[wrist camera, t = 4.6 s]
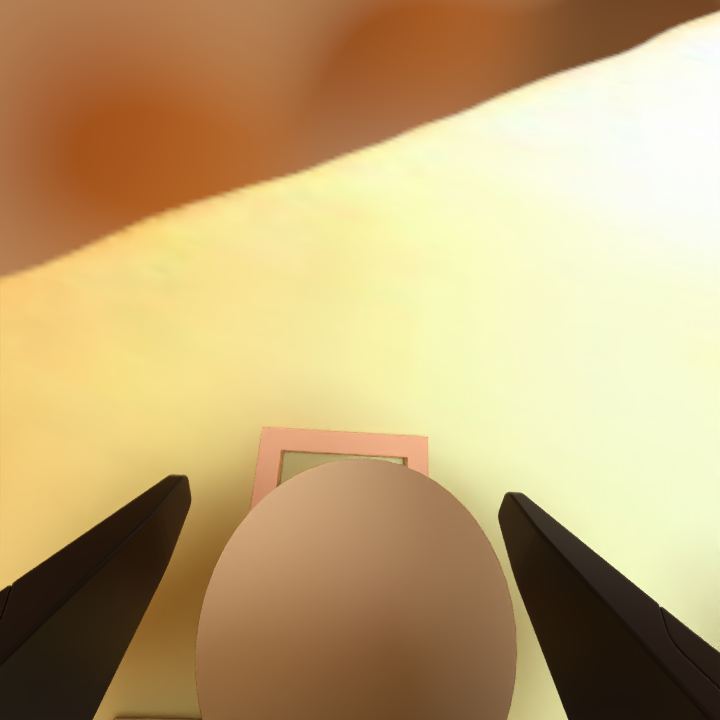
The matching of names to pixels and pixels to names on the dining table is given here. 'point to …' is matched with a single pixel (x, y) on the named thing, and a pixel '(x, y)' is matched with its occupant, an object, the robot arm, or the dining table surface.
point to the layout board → (155, 719)
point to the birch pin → (357, 605)
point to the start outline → (331, 451)
